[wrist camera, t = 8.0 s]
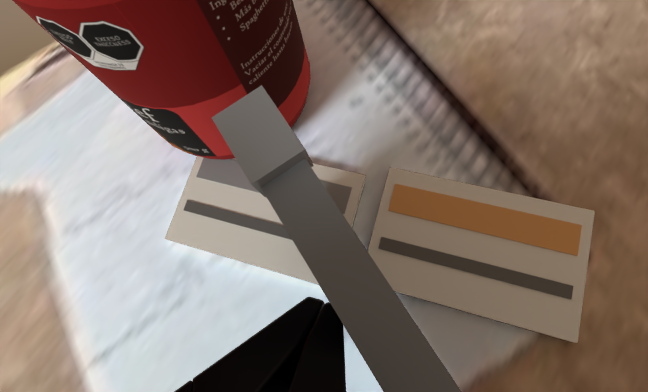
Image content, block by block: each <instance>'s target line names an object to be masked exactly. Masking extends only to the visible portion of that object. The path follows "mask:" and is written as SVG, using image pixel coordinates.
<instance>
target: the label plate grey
mask: <svg viewBox="0 0 648 392" xmlns="http://www.w3.org/2000/svg"><path fill="white" fill-rule="evenodd" d="M313 165H314V166H313V167H311V168H312V169H313V171H314V172H315V174H316V175H317V177H318V178H319V180H320V181H321V183H322V184H323V186H324V187H325V189H326V190H327V192H328V193H329V195H330V196H331V198H332V199H333V201H334V202H335V204H336V205H337V207H338V208H339V210H340V211H341V213H342V214H343V216H344V217H345V219H346V220H347V222H348V223H349V225H350V226H351V228H352V226H353V222H354V219H355V215H356V212H357V208H358V204H359V201H360V197H361V194H362V190H363V187H364V183H365V179H366V176H365V175H363V174H359V173H354V172H350V171H345V170H341V169H336V168H332V167H327V166H323V165H318V164H314V163H313ZM165 239H167V240H170V241H173V242H177V243H180V244H184V245H187V246H190V247H194V248H197V249H200V250H204V251H207V252H211V253H214V254H217V255H221V256H224V257H227V258H231V259H234V260H238V261H241V262H244V263H248V264H251V265H254V266H258V267H261V268H264V269H268V270H271V271H275V272H278V273H281V274H285V275H288V276H291V277H295V278H298V279H302V280H305V281H308V282H312V283H315V284H318V285H319V283H318V282H317V280H316V278H315V277H314V275H313V274H312V272H311V270H310V269H309V267H308V265H307V264H306V262H305V260H304V259H303V257H302V255H301V254H300V252H299V250H298V249H297V247H296V245H295V244H294V242H293V240H292V239H291V237H290V235H289V234H288V232H287V230H286V229H285V227H284V225H283V224H282V222H281V220H280V219H279V217H278V215H277V214H276V212H275V210H274V209H273V207H272V205H271V204H270V202H269V200H268V199H267V197H264V196H263V195H262V194H261V193H260V192H259V191H258V190H257V189H255V188H254V187H253V186H252V185H251V184H250V182H249V180H248V178H247V177H246V175H245V173H244V172H243V170H242V168H241V167H240V165H239V163H238V162H237V160H236V158H233V159H226V160H221V159H208V158H204V157H200V156H197V157H196V160H195V163H194V165H193V168H192V170H191V173H190V175H189V178H188V180H187V183H186V186H185V188H184V191H183V193H182V196H181V198H180V201H179V203H178V206H177V209H176V211H175V214H174V216H173V219H172V221H171V224H170V226H169V229H168V231H167V234H166V237H165Z"/></svg>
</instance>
